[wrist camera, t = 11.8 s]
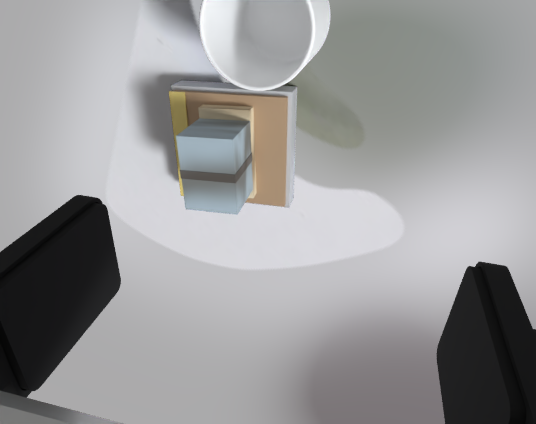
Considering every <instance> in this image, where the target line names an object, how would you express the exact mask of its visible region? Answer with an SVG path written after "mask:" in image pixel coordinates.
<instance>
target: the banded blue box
mask: <svg viewBox="0 0 536 424" xmlns="http://www.w3.org/2000/svg"><path fill="white" fill-rule="evenodd" d="M198 109H199V119H198V120H197V121H195V122H194V123H193V124H191V125H190V126H189V127H187V128H186V129H185V130H183V131H182V132H181V133H179V134H178V135H177V136H176V140H177V148H178V155H179V163H180V176H181V179H182V186H183V193H184V201H185V208H186V209H189V210H199V211H208V212H218V213H227V214H238V213H239V211H240V210H241V208H242V206H243V205H244V203H245V202H246V200H247V198H254V197H255V195H256V166H255V139H254V111H253V107H246V106H224V105H202V106H200V107H199V108H198Z"/></svg>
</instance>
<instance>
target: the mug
mask: <svg viewBox="0 0 536 424" xmlns="http://www.w3.org/2000/svg"><path fill="white" fill-rule="evenodd" d="M329 26H330V6H329V1H328V0H203V1H202V4H201V9H200V16H199V31H200V38H201V42H202V45H203V48H204V51H205V53H206V55H207V57H208V59H209V61H210V62H211V64H212V65H213V67H214V68H215V69H216V70H217V72H218V73H219V74H220V75H222V76H223V77H224V78H225V79H226V80H228V81H229V82H231V83H232V84H234V85H236V86H238V87H241V88H244V89H248V90H253V91H265V90H271V89H275V88H278V87H280V86H282V85H284V84H286V83H287V82H289V81H290V80H292V79H293V78H294V77H295V76H296V75H297V74H298V73H299V72H300V71H301V70H302V69H303V68H304V67H305V65H306V64H307V63H308V62H309V61H310V60H311V59H312V58H313V57H314V56H315V55H316V53H317V52H318V51H319V50H320V48H321V47H322V45H323V43H324V41H325V39H326V36H327V34H328V30H329Z"/></svg>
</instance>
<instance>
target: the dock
mask: <svg viewBox="0 0 536 424" xmlns="http://www.w3.org/2000/svg"><path fill="white" fill-rule="evenodd" d="M171 90H172V91H169V98H170V107H171V115H172V124H173V132H174V141H175V149H176V158H177V166H178V175H179V183H180V192H181V196H184V193H183V186H182V179H181V176H180V163H179V155H178V148H177V140H176V136H177V135H178V134H179V133H181V132H182V131H183V130H185V129H186V128H187V127H189V126H190V125H191V124H193V123H194V122H195V121H197V120H198V119H199V109H198V108H199V107H200V106H202V105H224V106H246V107H253V111H254V139H255V166H256V195H255V197H254V198H247V200H246V202H245V203H252V204H261V205H269V206H278V207H286V208H289V207H290V205H291V203H292V200H293V198H294V170H295V139H296V138H295V137H296V109H297V86H280V87H278V88H275V89H271V90H265V91H253V90H248V89H244V88H241V87H238V86H236V85H234V84H232V83H222V82H204V81H185V80H181V81H179V82H177V83H175V84H173V85H171Z"/></svg>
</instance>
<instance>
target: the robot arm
mask: <svg viewBox="0 0 536 424" xmlns="http://www.w3.org/2000/svg"><path fill="white" fill-rule="evenodd" d="M120 284H121V278H120V273H119V268H118V263H117V257H116V252H115V247H114V242H113V237H112V231H111V226H110V220H109V215H108V210H107V207H106V206H105V205H104V204H102V201H101V200H100V199H98V198H95V197H89V196H83V195H77V196H75V197H73V198H72V199H70V200H69V201H68V202H66V203H65V204H64V205H62V206H61V207H60V208H58V209H57V210H56V211H54V212H53V213H52V214H51V215H49V216H48V217H46V218H45V219H44V220H42V221H41V222H40V223H38V224H37V225H36V226H34V227H33V228H32V229H30V230H29V231H28V232H26V233H25V234H24V235H22V236H21V237H20V238H18V239H17V240H16V241H14V242H13V243H12V244H10V245H9V246H8V247H6V248H5V249H4V250H2V251H1V252H0V424H123V423H119V422H115V421H111V420H108V419H104V418H101V417H96V416H93V415H89V414H86V413H82V412H78V411H74V410H70V409H67V408H63V407H59V406H56V405H52V404H48V403H44V402H40V401H37V400H33V399H29V398H27V396H28V395H29V394H30V393H31V391H35V390H37V389H39V388H40V387H41V385H42V384H43V383H44V382H45V381H46V379H47V378H48V377H49V376H50V374H51V373H52V372H53V371H54V370H55V368H56V367H57V366H58V365H59V363H60V362H61V361H62V360H63V358H64V357H65V356H66V355H67V353H68V352H69V351H70V350H71V349H72V347H73V346H74V345H75V344H76V342H77V341H78V340H79V339H80V338H81V336H82V335H83V334H84V333H85V331H86V330H87V329H88V328H89V327H90V325H91V324H92V323H93V322H94V320H95V319H96V318H97V317H98V315H99V314H100V313H101V312H102V311H103V309H104V308H105V307H106V306H107V304H108V303H109V302H110V300H111V299H112V298H113V297H114V296H115V294H116V293H117V292H118V290H119V288H120ZM437 365H438V372H439V380H440V386H441V395H442V402H443V410H444V418H445V424H536V330H535V329H533V328H532V326H531V324H530V321H529V319H528V316H527V314H526V311H525V309H524V306H523V304H522V301H521V299H520V297H519V294H518V292H517V289H516V287H515V284H514V282H513V279H512V277H511V274H510V272H509V270H508V268H507V267H506V266H502V265H497V264H491V263H485V262H478V263H477V264H476V266H475V267H471V266H469V267H468V268H467V269H466V271H465V274H464V277H463V279H462V282H461V285H460V287H459V290H458V293H457V295H456V298H455V301H454V304H453V306H452V309H451V312H450V315H449V317H448V320H447V322H446V325H445V328H444V330H443V334H442V336H441V338H440V341H439V344H438V348H437Z"/></svg>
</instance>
